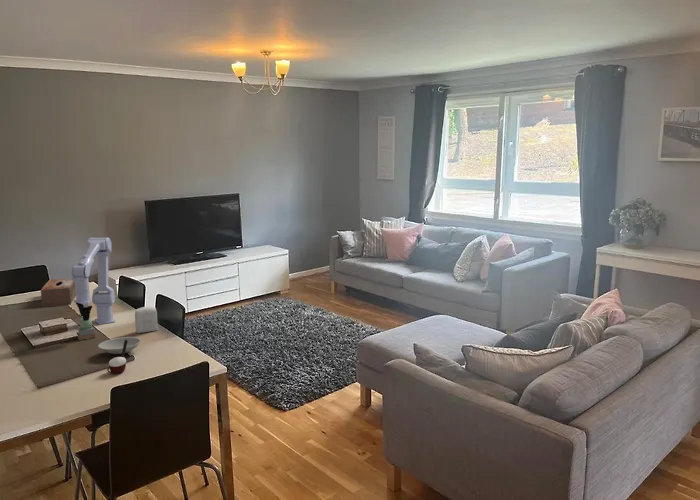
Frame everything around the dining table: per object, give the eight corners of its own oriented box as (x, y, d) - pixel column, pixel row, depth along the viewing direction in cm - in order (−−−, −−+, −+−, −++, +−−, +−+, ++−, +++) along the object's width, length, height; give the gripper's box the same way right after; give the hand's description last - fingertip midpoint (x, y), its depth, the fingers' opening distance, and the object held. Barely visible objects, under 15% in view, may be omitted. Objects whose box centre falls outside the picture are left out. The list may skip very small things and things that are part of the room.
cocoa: (108, 378, 210) (105, 349, 207) (105, 372, 215) (101, 344, 212) (133, 371, 216) (130, 343, 213) (129, 365, 221) (126, 338, 218)
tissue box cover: (70, 304, 306) (69, 288, 305) (42, 307, 302) (40, 289, 300) (77, 293, 330) (76, 277, 328) (51, 295, 326) (49, 279, 324)
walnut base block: (76, 337, 255) (76, 332, 255) (92, 334, 259) (92, 329, 258) (79, 341, 249) (78, 336, 249) (95, 338, 253) (95, 333, 253)
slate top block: (78, 332, 255) (78, 327, 254) (92, 330, 258) (92, 325, 257) (80, 336, 250) (79, 331, 249) (94, 333, 253) (93, 328, 252)
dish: (99, 363, 224) (99, 351, 223) (97, 351, 236) (97, 340, 235) (144, 355, 232) (143, 344, 231) (140, 345, 244) (139, 334, 243)
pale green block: (79, 327, 254) (78, 318, 253) (90, 325, 257) (89, 316, 256) (81, 330, 250) (80, 321, 249) (93, 328, 253) (92, 319, 252)
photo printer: (156, 328, 268) (155, 304, 265) (158, 330, 264) (157, 306, 262) (134, 331, 262) (133, 307, 260) (136, 334, 258) (135, 309, 256)
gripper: (70, 288, 253) (73, 315, 256) (75, 295, 242) (77, 323, 244) (87, 286, 257) (89, 313, 260) (92, 292, 246) (94, 321, 248)
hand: (84, 318), depth 252 cm, fingers open, 7 cm apart
